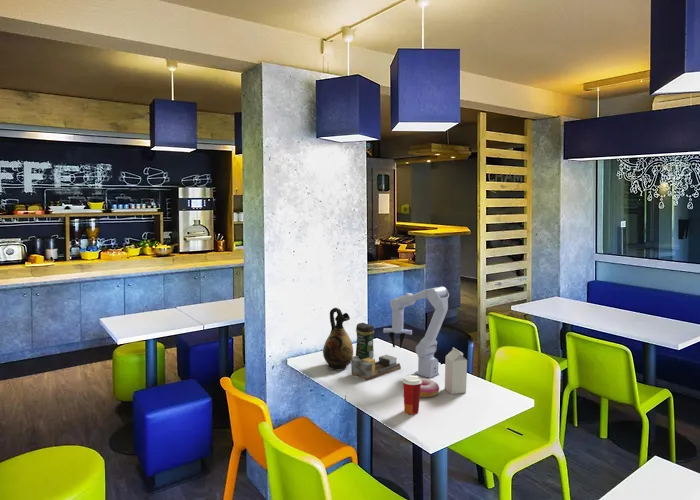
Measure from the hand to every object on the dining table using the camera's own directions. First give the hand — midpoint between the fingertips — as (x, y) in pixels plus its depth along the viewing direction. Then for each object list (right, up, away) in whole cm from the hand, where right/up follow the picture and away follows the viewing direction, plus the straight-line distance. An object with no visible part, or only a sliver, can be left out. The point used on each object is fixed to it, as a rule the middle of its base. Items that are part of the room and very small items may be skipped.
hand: (397, 347), depth 264 cm
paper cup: (0, -16, -56) cm, 58 cm away
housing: (-15, -9, -14) cm, 23 cm away
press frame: (-11, -10, -10) cm, 18 cm away
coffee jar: (-16, -8, +13) cm, 22 cm away
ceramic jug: (-31, -10, -2) cm, 32 cm away
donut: (+8, -14, -36) cm, 40 cm away
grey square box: (-5, -8, -4) cm, 11 cm away
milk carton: (+23, -13, -34) cm, 43 cm away
